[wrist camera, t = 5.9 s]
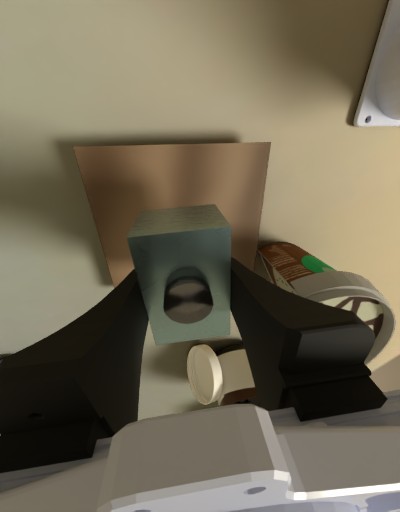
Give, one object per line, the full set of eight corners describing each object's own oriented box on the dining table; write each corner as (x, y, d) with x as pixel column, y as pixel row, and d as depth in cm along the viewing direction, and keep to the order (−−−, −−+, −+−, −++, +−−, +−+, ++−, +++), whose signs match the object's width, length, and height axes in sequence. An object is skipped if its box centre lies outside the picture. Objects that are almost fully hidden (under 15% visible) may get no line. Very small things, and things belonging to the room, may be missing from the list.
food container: (326, 289, 26) (402, 360, 17) (283, 308, 27) (334, 385, 18) (306, 209, 20) (406, 256, 12) (252, 238, 21) (306, 301, 12)
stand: (258, 142, 17) (270, 142, 15) (244, 277, 24) (251, 290, 21) (87, 146, 16) (73, 146, 13) (124, 287, 22) (118, 302, 20)
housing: (217, 292, 15) (233, 346, 11) (160, 299, 15) (154, 357, 11) (214, 203, 12) (236, 233, 8) (140, 210, 12) (121, 245, 8)
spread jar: (256, 372, 34) (291, 468, 24) (191, 383, 33) (199, 486, 23) (260, 324, 28) (308, 424, 18) (181, 337, 27) (185, 448, 17)
